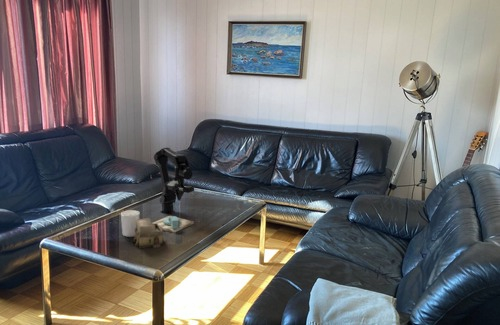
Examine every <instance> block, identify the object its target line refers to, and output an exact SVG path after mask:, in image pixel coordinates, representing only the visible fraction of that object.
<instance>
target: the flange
mask: <svg viewBox="0 0 500 325" xmlns="http://www.w3.org/2000/svg"><path fill="white" fill-rule="evenodd" d="M169 216H170V217H169V218H166V219H164V220H163V223H164V224H166V225H171V227H172V229H178V221H180V223H181V220H180V219H179V218H180V217H177V216H176V215H175V216H174V215H169Z"/></svg>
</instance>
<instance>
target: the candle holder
mask: <svg viewBox="0 0 500 325" xmlns="http://www.w3.org/2000/svg"><path fill="white" fill-rule="evenodd" d="M140 215H141V214H140V211H138V210H135V209H131V210H130V209H129V210H127V209H126V210H124V211H122V212H121V213H120V219H121V234H122V235H123V236H124V237H127V238H128V237H130V238H131V237H135V228H136V219H140Z"/></svg>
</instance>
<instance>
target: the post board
mask: <svg viewBox="0 0 500 325" xmlns="http://www.w3.org/2000/svg"><path fill="white" fill-rule="evenodd" d="M170 216H171V215H168V216H165V217H163V218H161V219H158V220H156V221H154V222H153V221H152V223H153V224H157V223H158V225H160V228H161V229H162V231H166V232H169V233H174V234H175V233H176V232H179V231H181V230H183V229H186V228H187V227H190V226H192V225H194V223H195V222H194V221H193V220H189V219H185V218H180V217H178V218H179V219H180V220H181V223H180V221H178V229H172V227H171V225H166V224H164V223H163V220H164V219H166V218H169V217H170Z"/></svg>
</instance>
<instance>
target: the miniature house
mask: <svg viewBox="0 0 500 325" xmlns="http://www.w3.org/2000/svg"><path fill="white" fill-rule="evenodd" d="M163 236H164V230H162V229H161V228H160V225H158V223H157V224H153V221H152V219H151V218H150V217H148V218H139V219H136V228H135V236H134V238H133V240H132V242H133V243H135V245H134V246H135V247H136V248H137V247H138V248H139V249H144V248H153V249H155V248H161V247H162V246H163V244H165V239H164V237H163Z"/></svg>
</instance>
